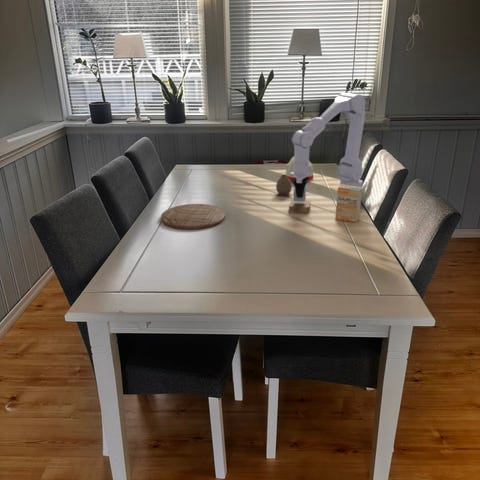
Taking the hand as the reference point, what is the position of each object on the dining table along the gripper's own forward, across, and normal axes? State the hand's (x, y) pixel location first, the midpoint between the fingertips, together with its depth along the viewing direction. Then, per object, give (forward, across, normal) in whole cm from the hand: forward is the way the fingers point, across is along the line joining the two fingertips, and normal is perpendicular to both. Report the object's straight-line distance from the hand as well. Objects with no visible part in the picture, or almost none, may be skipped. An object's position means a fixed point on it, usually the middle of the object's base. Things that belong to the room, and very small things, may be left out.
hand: (300, 195), depth 181 cm
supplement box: (+6, +8, +19) cm, 22 cm away
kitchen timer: (+6, -48, -5) cm, 49 cm away
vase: (+6, -19, -9) cm, 22 cm away
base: (+6, 0, 0) cm, 6 cm away
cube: (+2, 0, 0) cm, 2 cm away
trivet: (+7, +17, -40) cm, 44 cm away
